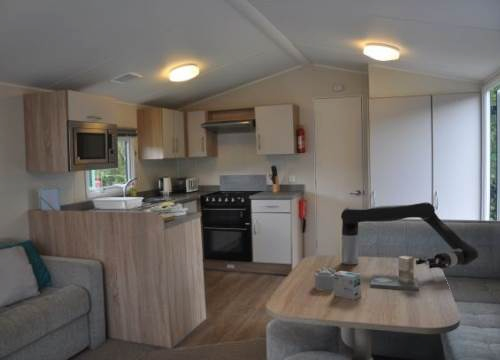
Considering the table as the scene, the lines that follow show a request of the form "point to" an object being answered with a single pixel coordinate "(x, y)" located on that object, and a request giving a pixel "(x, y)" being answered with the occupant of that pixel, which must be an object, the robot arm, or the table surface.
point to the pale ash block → (406, 269)
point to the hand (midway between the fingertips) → (422, 264)
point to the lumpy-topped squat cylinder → (324, 279)
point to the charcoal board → (393, 283)
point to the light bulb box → (347, 285)
